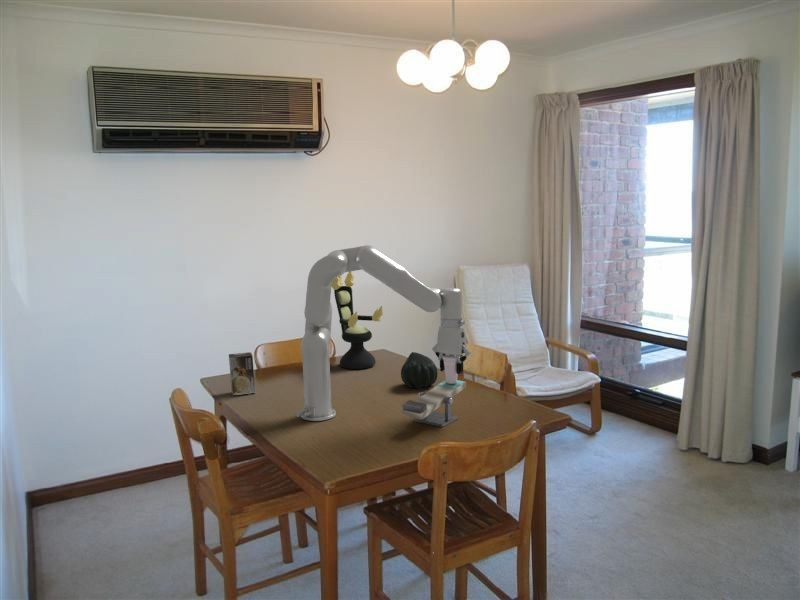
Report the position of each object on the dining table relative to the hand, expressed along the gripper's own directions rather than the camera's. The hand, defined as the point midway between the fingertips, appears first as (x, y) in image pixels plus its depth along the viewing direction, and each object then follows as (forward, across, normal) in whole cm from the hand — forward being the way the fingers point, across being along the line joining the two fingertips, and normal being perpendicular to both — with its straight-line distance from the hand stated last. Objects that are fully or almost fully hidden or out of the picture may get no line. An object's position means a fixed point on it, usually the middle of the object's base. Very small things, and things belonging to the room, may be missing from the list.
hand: (451, 371), depth 239 cm
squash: (+15, +28, -20) cm, 38 cm away
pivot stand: (+15, 0, +11) cm, 19 cm away
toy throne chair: (+15, +73, -32) cm, 81 cm away
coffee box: (+15, +83, +26) cm, 88 cm away
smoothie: (+4, 0, 0) cm, 4 cm away
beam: (+7, 0, +11) cm, 13 cm away
